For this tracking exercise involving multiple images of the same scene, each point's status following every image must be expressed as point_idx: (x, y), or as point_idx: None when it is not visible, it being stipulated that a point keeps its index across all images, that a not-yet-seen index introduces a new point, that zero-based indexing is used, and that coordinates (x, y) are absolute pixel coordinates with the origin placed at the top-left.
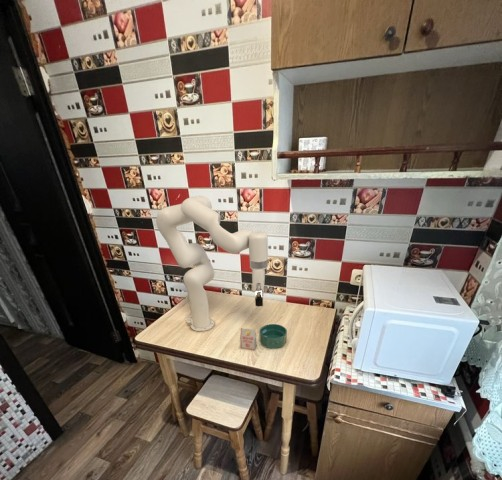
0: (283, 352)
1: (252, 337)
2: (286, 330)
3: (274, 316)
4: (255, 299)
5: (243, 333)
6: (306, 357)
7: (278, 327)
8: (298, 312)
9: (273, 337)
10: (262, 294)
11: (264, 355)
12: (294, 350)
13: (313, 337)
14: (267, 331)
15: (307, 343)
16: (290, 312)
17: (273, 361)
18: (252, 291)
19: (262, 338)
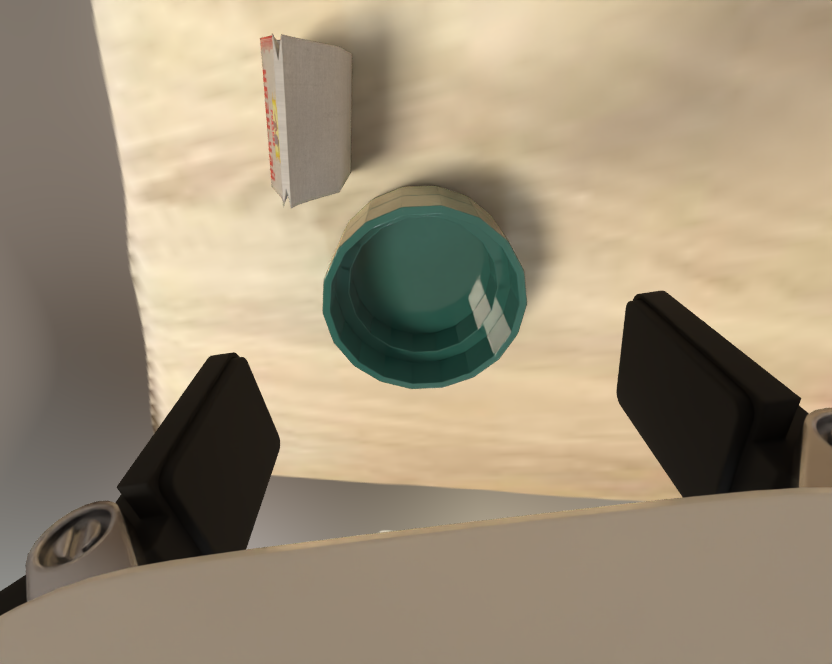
0: (323, 340)
1: (273, 173)
2: (444, 385)
3: (751, 236)
4: (143, 456)
5: (272, 75)
6: (313, 434)
7: (506, 322)
8: None
9: (457, 273)
10: (633, 418)
11: (261, 244)
12: (356, 386)
13: (485, 452)
14: (482, 242)
15: (429, 432)
16: (780, 333)
17: (225, 302)
18: (3, 616)
19: (345, 236)
